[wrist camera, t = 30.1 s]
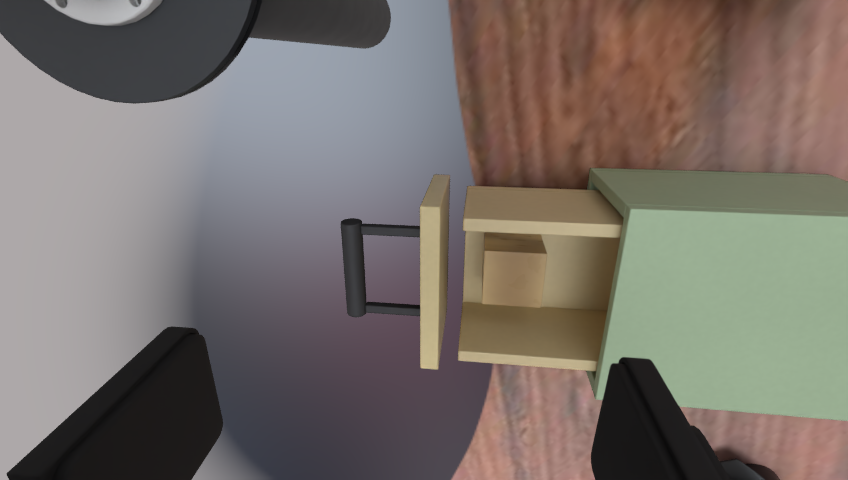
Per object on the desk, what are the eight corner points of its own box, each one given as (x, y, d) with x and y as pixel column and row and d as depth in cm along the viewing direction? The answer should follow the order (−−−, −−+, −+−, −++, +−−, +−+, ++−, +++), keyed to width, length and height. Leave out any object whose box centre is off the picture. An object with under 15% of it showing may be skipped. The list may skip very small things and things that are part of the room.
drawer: (365, 304, 38) (337, 361, 30) (358, 171, 33) (323, 202, 26) (614, 320, 35) (647, 387, 28) (640, 180, 31) (687, 216, 24)
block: (481, 278, 34) (481, 304, 30) (484, 229, 33) (484, 250, 29) (534, 281, 34) (541, 308, 30) (540, 231, 32) (547, 254, 28)
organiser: (568, 318, 37) (595, 399, 28) (590, 167, 32) (630, 208, 23) (772, 331, 35) (870, 423, 26) (827, 174, 30) (969, 221, 21)
